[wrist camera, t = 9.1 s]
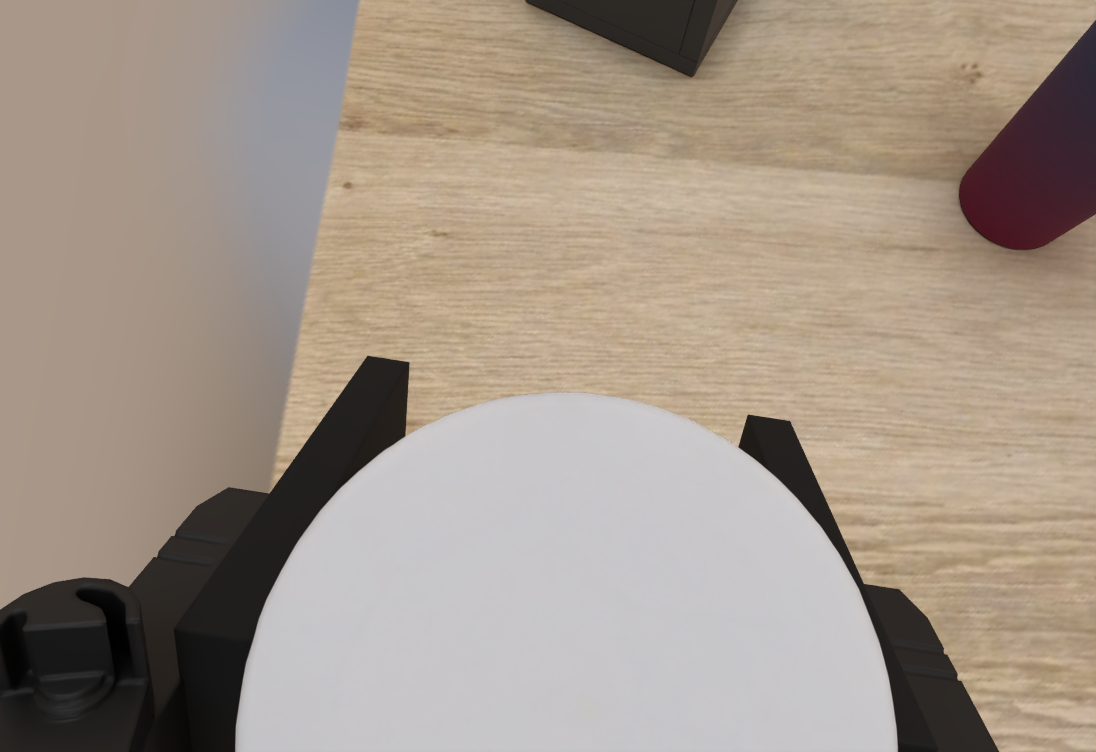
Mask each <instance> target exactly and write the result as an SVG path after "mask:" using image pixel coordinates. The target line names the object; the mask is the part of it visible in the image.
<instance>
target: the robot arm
mask: <svg viewBox="0 0 1096 752" xmlns="http://www.w3.org/2000/svg"><path fill="white" fill-rule="evenodd" d="M408 379H409V362H404V361H398V360H391V359H385V358H378V357H372V356H367V358H366V359H365V360H364V362H363V363H362V365H361V366H360V367H359V369H358V370H357V372H356V373H355V374H354V376H353V377H352V379H351V380H350V381H349V383H348V384H347V386H346V387H345V388H344V390H343V391H342V393H341V394H340V395H339V397H338V398H337V400H336V401H335V402H334V404H333V405H332V407H331V408H330V410H329V411H328V412H327V414H326V415H325V417H324V418H323V419H322V421H321V422H320V424H319V425H318V426H317V428H316V429H315V431H314V432H313V433H312V435H311V436H310V438H309V439H308V440H307V442H306V443H305V445H304V446H303V447H302V449H301V450H300V452H299V453H298V454H297V456H296V457H295V459H294V460H293V462H292V463H291V464H290V466H289V467H288V469H287V470H286V471H285V473H284V474H283V476H282V477H281V478H280V480H279V481H278V483H277V484H276V485H275V487H274V488H273V490H272V491H271V492H270V494H268V493H262V492H255V491H249V490H243V489H236V488H227V489H225V490H223V491H222V492H220V493H218V494H217V495H215V496H213V497H212V498H210V499H208V500H207V501H205V502H203V503H202V504H200V505H198V506H197V507H196V508H195V509H194V510H193V511H192V513H191V514H190V515H189V516H188V517H187V519H186V520H185V521H184V522H183V523H182V524H181V526H180V527H179V528H178V529H177V530H176V534H175V536H171V538H170V539H169V540H168V541H167V542H166V544H165V545H164V546H163V547H162V548H161V549H160V550H159V552H158V556H157V558H156V557H154V558H153V559H152V560H151V561H150V563H149V564H148V565H147V566H146V567H145V568H144V570H143V571H142V572H141V573H140V574H139V575H138V577H137V578H136V579H135V580H134V581H133V583H132V584H131V585H130V586H129V587H126V586H124V585H122V584H119V583H117V582H115V581H112V580H110V579H97V578H78V579H72V580H66V581H60V582H54V583H51V584H49V585H46V586H43V587H41V588H38V589H36V590H33V591H31V592H28V593H25V594H23V595H22V596H20V597H19V598H18V599H16V600H14V601H13V602H11V603H10V604H8V605H7V606H5V607H4V608H2V609H1V610H0V752H235V742H236V722H237V715H238V709H239V702H240V695H241V688H242V682H243V676H244V671H245V666H246V662H247V658H248V655H249V652H250V649H251V645H252V642H253V639H254V635H255V632H256V628H257V624H258V620H259V617H260V615H261V612H262V610H263V607H264V605H265V602H266V600H267V598H268V596H269V594H270V592H271V590H272V588H273V586H274V584H275V582H276V580H277V578H278V576H279V574H280V572H281V570H282V568H283V567H284V565H285V563H286V561H287V560H288V558H289V556H290V554H291V552H292V551H293V549H294V547H295V545H296V544H297V542H298V541H299V539H300V538H301V536H302V535H303V534H304V532H305V531H306V529H307V528H308V527H309V525H310V524H311V523H312V521H313V520H314V518H315V517H316V516H317V514H318V513H319V512H320V510H321V509H322V508H323V507H324V506H325V505H326V503H327V502H328V501H329V500H330V499H331V498H332V497H333V496H334V495H335V493H336V492H337V491H338V490H339V489H340V488H341V487H342V486H343V485H344V484H345V483H347V482H348V481H349V480H350V479H351V478H352V477H353V476H354V475H355V474H356V473H357V472H358V471H360V470H361V469H362V468H363V467H364V466H366V465H367V464H368V463H369V462H371V461H372V460H373V459H374V458H375V457H377V456H378V455H379V454H380V453H382V452H383V451H384V450H386V449H387V448H389V447H390V446H392V445H394V444H395V443H397V442H398V441H399V440H401V439H402V438H404V437H405V431H406V414H407V397H408ZM738 448H740V449H741V450H743V451H744V452H745V453H747V454H748V455H749V456H751V457H752V458H754V459H755V460H756V461H758V462H759V463H760V464H761V465H762V466H763V467H765V468H766V469H767V470H768V471H769V472H770V473H772V474H773V475H774V476H775V477H776V478H777V479H779V481H780V482H781V483H782V484H783V485H784V486H785V487H786V488H787V489H788V490H789V491H790V492H791V493H792V494H793V495H794V496H795V497H796V498H797V499H798V500H799V501H800V502H801V503H802V505H803V506H804V507H805V508H806V510H807V511H808V512H809V513H810V514H811V516H812V517H813V518H814V519H815V520H816V522H817V523H818V524H819V525H820V526H821V528H822V529H823V531H824V532H825V534H826V535H827V537H828V538H829V540H830V541H831V543H832V544H833V546H834V547H835V549H836V550H837V551H838V553H839V554H840V556H841V558H842V560H843V562H844V563H845V565H846V567H847V569H848V571H849V572H850V574H851V576H852V578H853V579H854V581H855V583H856V585H857V587H858V588H859V591H860V593H861V596H862V599H863V601H864V604H865V606H866V609H867V611H868V614H869V616H870V619H871V622H872V624H873V627H874V630H875V632H876V635H877V637H878V640H879V643H880V647H881V650H882V654H883V658H884V661H885V665H886V669H887V673H888V677H889V682H890V688H891V694H892V700H893V707H894V714H895V721H896V728H897V744H898V752H999V751H998V749H997V747H996V745H995V743H994V741H993V739H992V738H991V736H990V734H989V732H988V730H987V728H986V726H985V724H984V723H983V721H982V719H981V717H980V715H979V713H978V711H977V710H976V708H975V706H974V704H973V702H972V700H971V698H970V696H969V695H968V693H967V691H966V689H965V687H964V685H963V683H962V681H958V679H957V675H958V674H957V672H956V670H955V668H954V666H953V665H952V663H951V661H950V659H949V657H948V655H945V654H944V651H943V650H944V648H943V646H942V644H941V642H940V640H939V638H938V637H937V635H936V633H935V631H934V629H933V627H932V625H931V623H930V622H929V620H928V618H927V617H926V616H925V615H924V614H923V613H922V612H921V611H920V610H919V609H918V608H917V607H916V606H915V605H914V604H913V603H912V602H911V601H910V600H909V599H908V598H907V597H906V596H905V595H904V594H903V593H902V592H901V591H900V590H899V589H893V588H886V587H880V586H874V585H867V584H864V583H863V581H862V579H861V577H860V574H859V572H858V570H857V568H856V566H855V563H854V561H853V559H852V557H851V555H850V552H849V550H848V548H847V546H846V544H845V541H844V539H843V537H842V535H841V533H840V530H839V528H838V526H837V524H836V522H835V519H834V517H833V515H832V513H831V511H830V508H829V506H828V504H827V502H826V499H825V497H824V495H823V493H822V491H821V488H820V486H819V484H818V482H817V480H816V477H815V475H814V473H813V471H812V469H811V466H810V464H809V462H808V460H807V458H806V455H805V453H804V451H803V449H802V447H801V444H800V442H799V440H798V438H797V436H796V433H795V431H794V429H793V427H792V425H791V422H790V421H786V420H779V419H773V418H766V417H760V416H754V415H748V416H747V419H746V423H745V426H744V430H743V433H742V436H741V440H740V443H739V447H738Z"/></svg>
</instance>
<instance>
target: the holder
mask: <svg viewBox="0 0 1096 752" xmlns="http://www.w3.org/2000/svg"><path fill="white" fill-rule="evenodd" d="M526 1H527V2H529V3H531V4H533V5H535V6H537V7H540V8H542V9H544V10H546V11H549V12H551V13H553V14H555V15H557V16H560V17H562V18H564V19H566V20H568V21H571V22H573V23H575V24H577V25H579V26H582V27H584V28H586V29H588V30H590V31H593V32H595V33H597V34H599V35H601V36H604V37H606V38H608V39H610V40H613V41H615V42H617V43H619V44H621V45H624V46H626V47H628V48H630V49H632V50H635V51H637V52H639V53H641V54H643V55H646V56H648V57H650V58H652V59H654V60H657V61H659V62H661V63H663V64H666V65H668V66H670V67H672V68H674V69H677V70H679V71H681V72H683V73H685V74H688V75H690V76H693V75H694V74H695V72H696V71H697V69H698V67H699V66H700V64H701V62H702V60H703V59H704V57H705V55H706V53H707V52H708V50H709V48H710V47H711V45H712V43H713V41H714V40H715V38H716V36H717V35H718V33H719V31H720V29H721V28H722V26H723V24H724V23H725V21H726V19H727V17H728V16H729V14H730V12H731V10H732V9H733V7H734V5H735V4H736V2H737V0H526Z"/></svg>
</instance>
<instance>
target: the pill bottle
mask: <svg viewBox="0 0 1096 752" xmlns="http://www.w3.org/2000/svg"><path fill="white" fill-rule="evenodd" d="M235 752H898V744H897V728H896V721H895V714H894V707H893V700H892V694H891V688H890V682H889V677H888V673H887V669H886V665H885V661H884V658H883V654H882V650H881V647H880V643H879V640H878V637H877V635H876V632H875V630H874V627H873V624H872V622H871V619H870V616H869V614H868V611H867V609H866V606H865V604H864V601H863V599H862V596H861V593H860V591H859V588H858V587H857V585H856V583H855V581H854V579H853V578H852V576H851V574H850V572H849V571H848V569H847V567H846V565H845V563H844V562H843V560H842V558H841V556H840V554H839V553H838V551H837V550H836V549H835V547H834V546H833V544H832V543H831V541H830V540H829V538H828V537H827V535H826V534H825V532H824V531H823V529H822V528H821V526H820V525H819V524H818V523H817V522H816V520H815V519H814V518H813V517H812V516H811V514H810V513H809V512H808V511H807V510H806V508H805V507H804V506H803V505H802V503H801V502H800V501H799V500H798V499H797V498H796V497H795V496H794V495H793V494H792V493H791V492H790V491H789V490H788V489H787V488H786V487H785V486H784V485H783V484H782V483H781V482H780V481H779V479H777V478H776V477H775V476H774V475H773V474H772V473H770V472H769V471H768V470H767V469H766V468H765V467H763V466H762V465H761V464H760V463H759V462H758V461H756V460H755V459H754V458H752V457H751V456H749V455H748V454H747V453H745V452H744V451H743V450H741V449H740V448H738V447H737V446H736V445H734V444H733V443H732V442H730V441H728V440H726V439H725V438H723V437H721V436H719V435H718V434H716V433H714V432H712V431H710V430H709V429H707V428H705V427H703V426H701V425H700V424H698V423H696V422H694V421H692V420H690V419H687V418H685V417H682V416H679V415H677V414H674V413H672V412H669V411H666V410H664V409H661V408H658V407H656V406H653V405H650V404H646V403H642V402H638V401H633V400H629V399H625V398H620V397H613V396H606V395H599V394H592V393H578V392H549V393H536V394H525V395H519V396H513V397H506V398H500V399H494V400H490V401H487V402H484V403H481V404H478V405H475V406H472V407H469V408H466V409H463V410H460V411H457V412H454V413H451V414H448V415H446V416H444V417H442V418H440V419H438V420H436V421H434V422H432V423H430V424H428V425H426V426H424V427H421V428H419V429H417V430H415V431H414V432H412V433H410V434H409V435H407V436H405V437H404V438H402V439H401V440H399V441H398V442H397V443H395V444H394V445H392V446H390V447H389V448H387V449H386V450H384V451H383V452H382V453H380V454H379V455H378V456H377V457H375V458H374V459H373V460H372V461H371V462H369V463H368V464H367V465H366V466H364V467H363V468H362V469H361V470H360V471H358V472H357V473H356V474H355V475H354V476H353V477H352V478H351V479H350V480H349V481H348V482H347V483H345V484H344V485H343V486H342V487H341V488H340V489H339V490H338V491H337V492H336V493H335V495H334V496H333V497H332V498H331V499H330V500H329V501H328V502H327V503H326V505H325V506H324V507H323V508H322V509H321V510H320V512H319V513H318V514H317V516H316V517H315V518H314V520H313V521H312V523H311V524H310V525H309V527H308V528H307V529H306V531H305V532H304V534H303V535H302V536H301V538H300V539H299V541H298V542H297V544H296V545H295V547H294V549H293V551H292V552H291V554H290V556H289V558H288V560H287V561H286V563H285V565H284V567H283V568H282V570H281V572H280V574H279V576H278V578H277V580H276V582H275V584H274V586H273V588H272V590H271V592H270V594H269V596H268V598H267V600H266V602H265V605H264V607H263V610H262V612H261V615H260V617H259V620H258V624H257V628H256V632H255V635H254V639H253V642H252V645H251V649H250V652H249V655H248V658H247V662H246V666H245V671H244V676H243V682H242V688H241V695H240V702H239V709H238V715H237V722H236V742H235Z"/></svg>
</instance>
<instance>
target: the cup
mask: <svg viewBox="0 0 1096 752" xmlns="http://www.w3.org/2000/svg"><path fill="white" fill-rule="evenodd" d="M959 195H960V202H961V206H962V208H963V211H964V213H965V215H966V217H967V218H968V220H969V222H970V223H971V224H972V225H973V226H974V227H975V229H976V230H978V231H979V232H980V233H981V234H982V235H983V236H985V237H986V238H988V239H990V240H991V241H993V242H995V243H997V244H1000V245H1002V246H1005V247H1009V248H1013V249H1023V250H1026V249H1035V248H1038V247H1041V246H1044V245H1046V244H1048V243H1049V242H1051V241H1053V240H1054V239H1056V238H1057V237H1059V236H1061V235H1062V234H1064V233H1066V232H1067V231H1069V230H1070V229H1072V228H1074V227H1075V226H1077V225H1079V224H1080V223H1082V222H1083V221H1085V220H1087V219H1088V218H1090V217H1092V216H1093V215H1095V214H1096V21H1095V22H1094V23H1093V24H1092V25H1091V26H1090V28H1089V29H1088V30H1087V31H1086V32H1085V34H1084V35H1083V36H1082V37H1081V38H1080V39H1079V41H1078V42H1077V43H1076V44H1075V45H1074V46H1073V48H1072V49H1071V50H1070V51H1069V52H1068V53H1067V55H1066V56H1065V57H1064V58H1063V59H1062V60H1061V62H1060V63H1059V64H1058V65H1057V66H1056V68H1055V69H1054V70H1053V71H1052V72H1051V73H1050V75H1049V76H1048V77H1047V78H1046V79H1045V80H1044V82H1043V83H1042V84H1041V85H1040V86H1039V87H1038V89H1037V90H1036V91H1035V92H1034V93H1033V94H1032V96H1031V97H1030V98H1029V99H1028V100H1027V102H1026V103H1025V104H1024V105H1023V106H1022V107H1021V109H1020V110H1019V111H1018V112H1017V113H1016V114H1015V116H1014V117H1013V118H1012V119H1011V120H1010V121H1009V123H1008V124H1007V125H1006V126H1005V127H1004V129H1003V130H1002V131H1001V132H1000V133H999V134H998V136H997V137H996V138H995V139H994V140H993V141H992V143H991V144H990V145H989V146H988V147H987V148H986V150H985V151H984V152H983V153H982V154H981V155H980V157H979V158H978V159H977V160H976V161H975V163H974V164H973V165H972V166H971V167H970V168H969V170H968V171H967V172H966V174H965V175H964V177H963V179H962V182H961V185H960V194H959Z"/></svg>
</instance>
